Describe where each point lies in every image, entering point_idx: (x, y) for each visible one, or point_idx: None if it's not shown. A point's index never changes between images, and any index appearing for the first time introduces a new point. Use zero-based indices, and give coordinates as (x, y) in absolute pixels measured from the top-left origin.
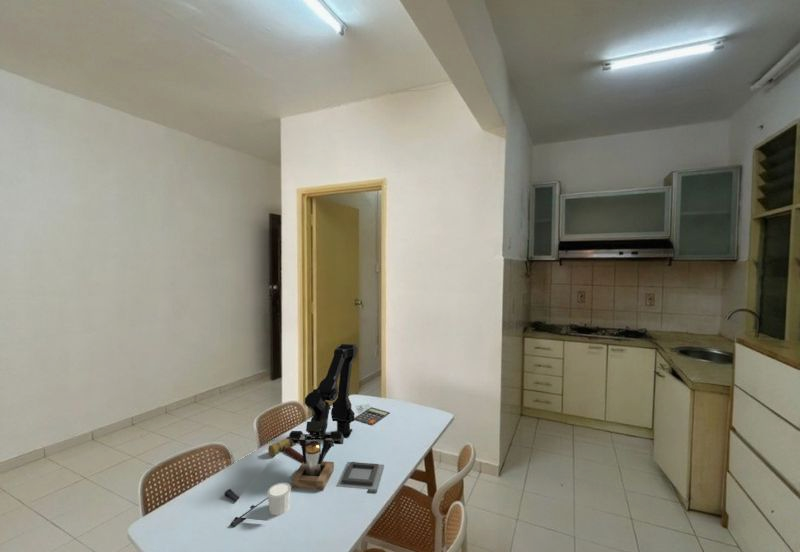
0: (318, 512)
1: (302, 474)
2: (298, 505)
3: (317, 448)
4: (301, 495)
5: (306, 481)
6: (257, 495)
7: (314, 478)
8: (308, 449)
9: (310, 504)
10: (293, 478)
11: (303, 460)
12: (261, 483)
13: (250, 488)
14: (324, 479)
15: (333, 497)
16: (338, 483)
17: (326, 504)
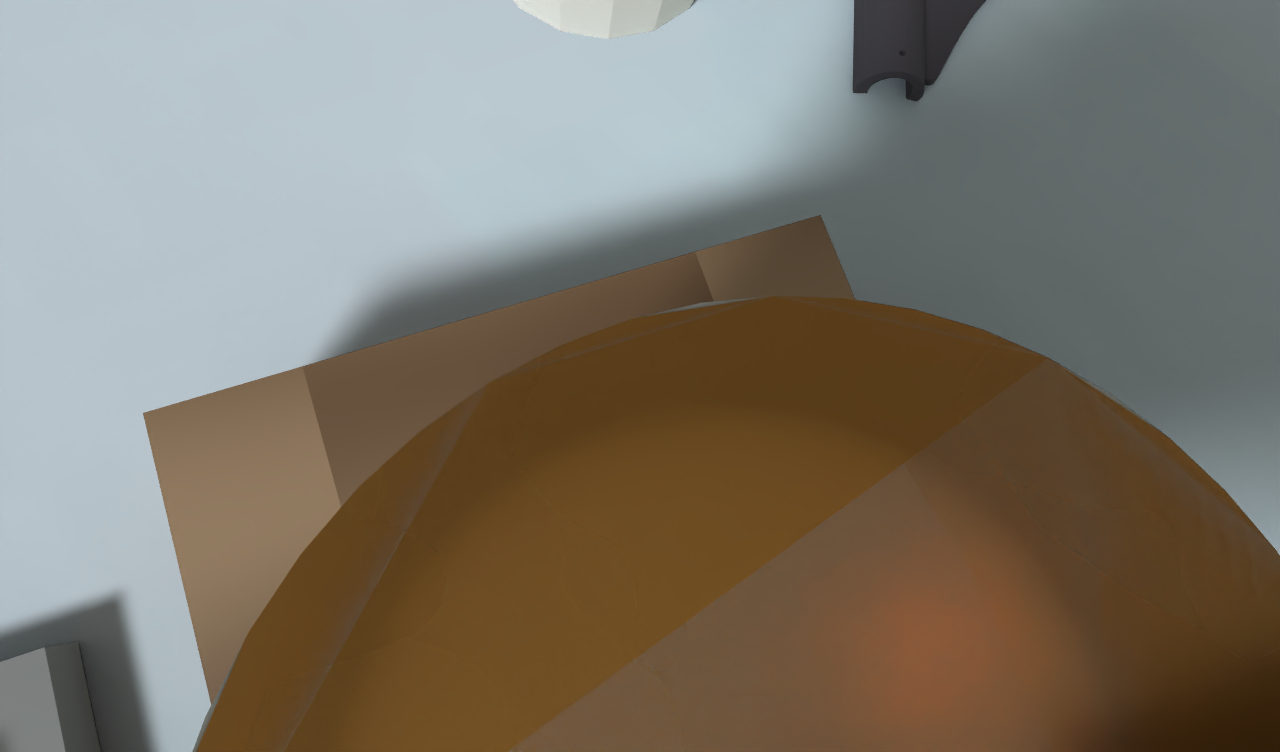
0: (75, 92)
1: None
2: (446, 96)
3: (224, 743)
4: (548, 268)
5: (523, 308)
6: (1078, 45)
7: (400, 417)
8: (768, 329)
9: (292, 173)
10: (797, 240)
11: None
12: (1246, 236)
13: (1268, 107)
14: (164, 493)
15: (12, 442)
16: (34, 745)
17: (44, 265)
